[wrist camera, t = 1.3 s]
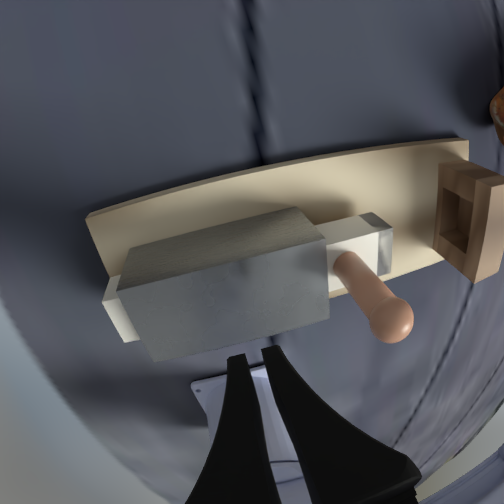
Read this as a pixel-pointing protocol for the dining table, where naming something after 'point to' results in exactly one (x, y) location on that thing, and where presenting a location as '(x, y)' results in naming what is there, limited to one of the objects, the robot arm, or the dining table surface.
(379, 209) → the base board
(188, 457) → the dining table surface
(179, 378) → the dining table surface
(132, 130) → the dining table surface
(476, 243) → the socket block
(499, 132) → the tin
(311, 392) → the robot arm
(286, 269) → the grey rectangular sleeve
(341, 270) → the white bar
